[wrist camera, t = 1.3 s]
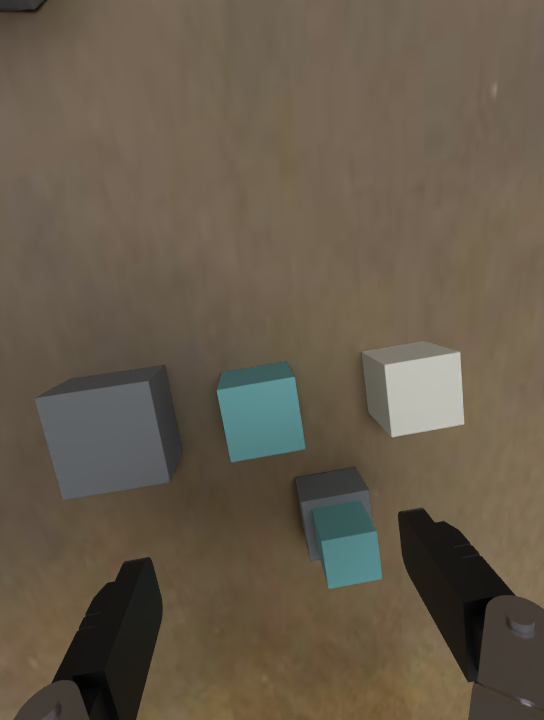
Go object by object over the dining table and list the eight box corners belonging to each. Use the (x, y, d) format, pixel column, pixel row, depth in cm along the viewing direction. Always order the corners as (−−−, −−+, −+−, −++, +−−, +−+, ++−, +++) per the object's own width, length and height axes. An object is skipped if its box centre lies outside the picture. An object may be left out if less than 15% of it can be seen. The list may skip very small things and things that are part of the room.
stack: (303, 531, 31) (319, 600, 25) (294, 477, 30) (308, 533, 24) (361, 520, 32) (393, 585, 25) (355, 467, 31) (386, 519, 24)
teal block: (233, 433, 29) (230, 462, 25) (221, 372, 28) (216, 390, 24) (295, 422, 30) (305, 449, 25) (286, 361, 29) (294, 376, 24)
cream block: (368, 412, 30) (391, 437, 25) (361, 351, 29) (384, 364, 24) (428, 401, 30) (464, 424, 25) (424, 340, 29) (459, 352, 24)
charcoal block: (93, 464, 29) (62, 500, 24) (71, 378, 28) (34, 398, 23) (182, 450, 30) (170, 482, 25) (165, 364, 28) (148, 380, 23)
